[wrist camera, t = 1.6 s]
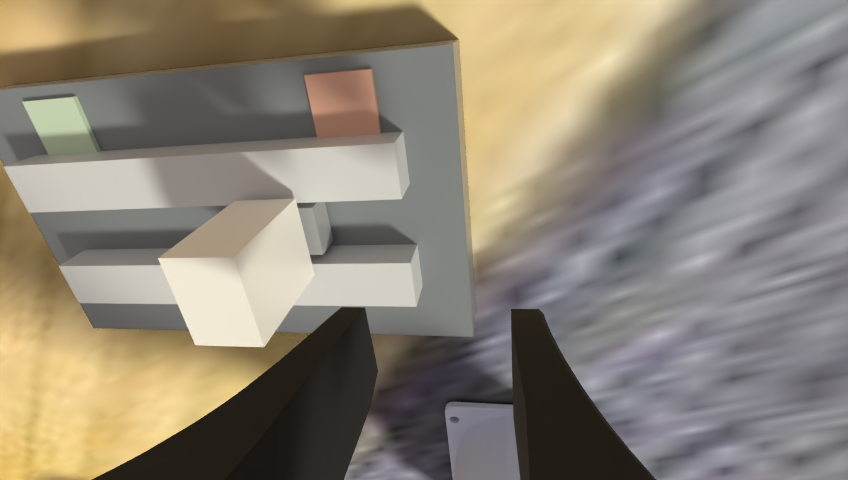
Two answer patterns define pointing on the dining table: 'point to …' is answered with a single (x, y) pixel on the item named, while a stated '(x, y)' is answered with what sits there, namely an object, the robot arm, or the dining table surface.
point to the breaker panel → (278, 114)
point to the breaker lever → (246, 269)
